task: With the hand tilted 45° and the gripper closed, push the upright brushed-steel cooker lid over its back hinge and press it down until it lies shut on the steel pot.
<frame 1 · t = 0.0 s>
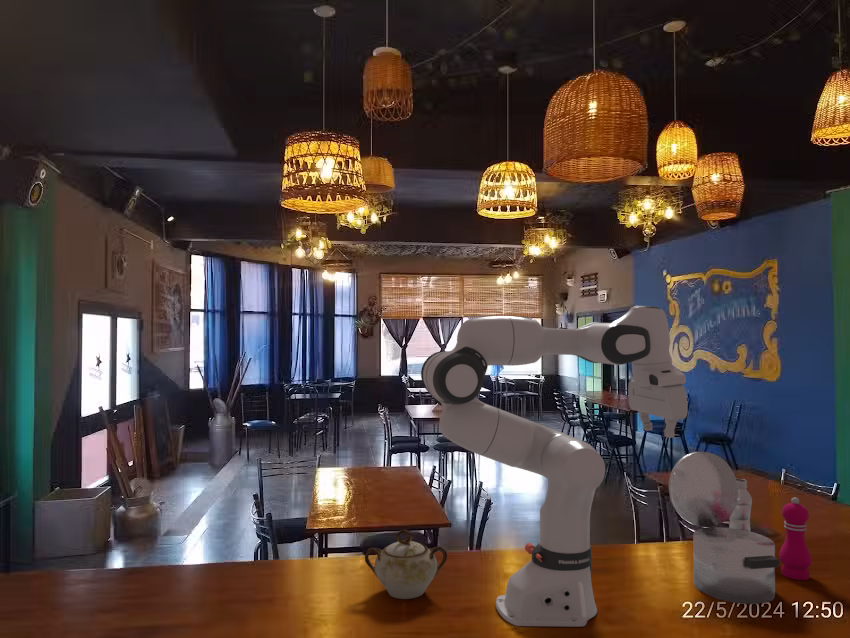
hand: (658, 433, 152), 39 cm above the counter, tool pointing down, fingers open, 8 cm apart
sugar bowl: (405, 593, 156), on the counter
cooker lid: (702, 488, 172), point 21 cm above the counter, hinge at 100.0°
cooker pot: (733, 588, 159), on the counter
silver metal bottle: (739, 551, 186), on the counter
pepper mill: (795, 576, 167), on the counter
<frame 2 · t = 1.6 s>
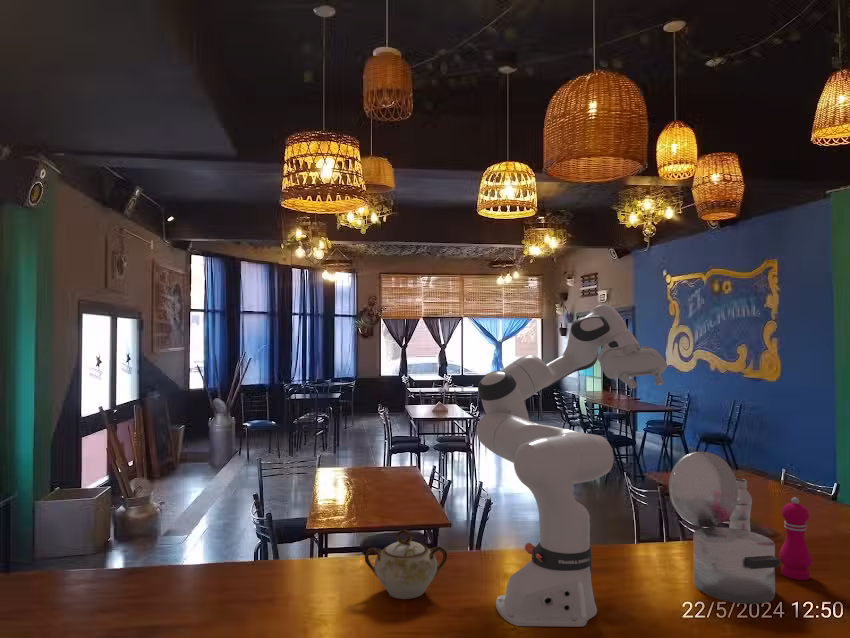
hand: (647, 385, 187), 47 cm above the counter, tool tilted 45°, fingers open, 8 cm apart
nothing on the counter moved.
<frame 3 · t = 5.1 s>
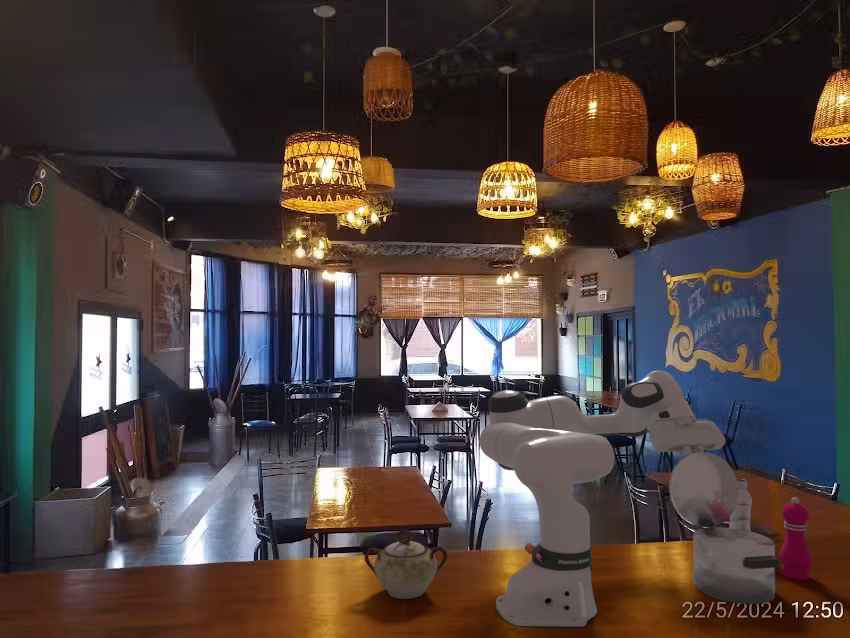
hand: (699, 462, 174), 28 cm above the counter, tool tilted 45°, fingers closed, pressing on cooker lid
cooker lid: (702, 488, 172), point 21 cm above the counter, hinge at 98.8°, touching gripper
everything else where it was.
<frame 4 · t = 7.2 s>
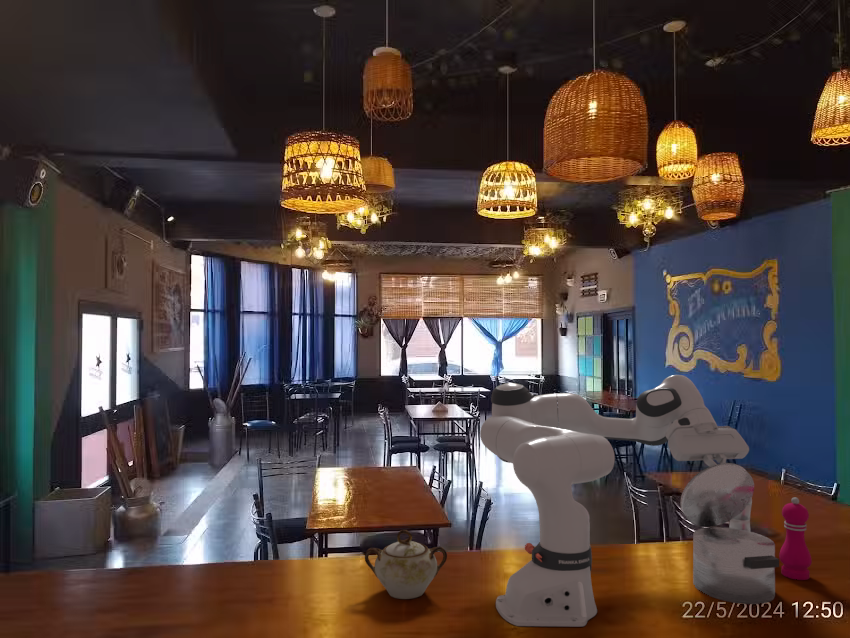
hand: (721, 472, 164), 27 cm above the counter, tool tilted 45°, fingers closed, pressing on cooker lid
cooker lid: (715, 493, 166), point 21 cm above the counter, hinge at 64.8°, touching gripper
everything else where it was.
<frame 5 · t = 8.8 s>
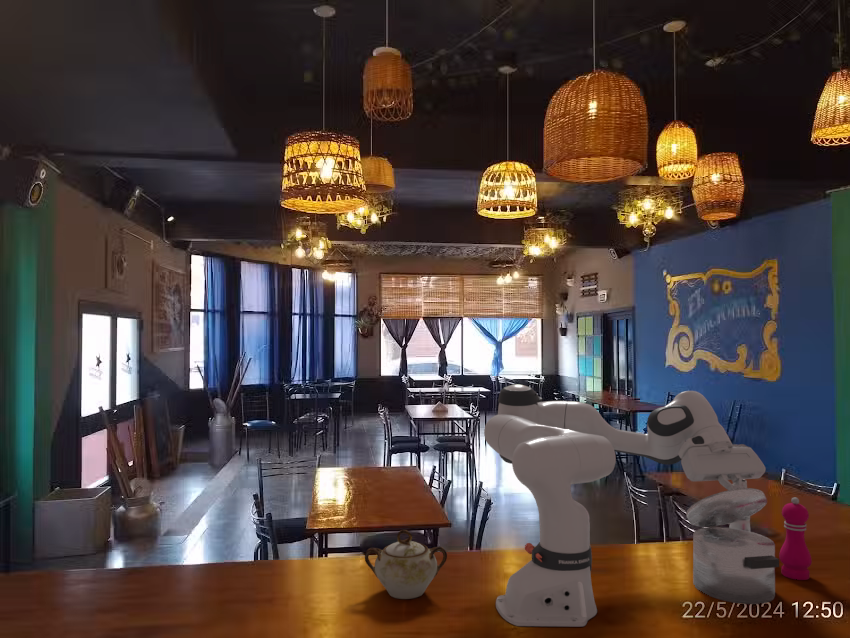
hand: (737, 493, 158), 23 cm above the counter, tool tilted 45°, fingers closed, pressing on cooker lid
cooker lid: (725, 505, 162), point 19 cm above the counter, hinge at 39.7°, touching gripper
everything else where it was.
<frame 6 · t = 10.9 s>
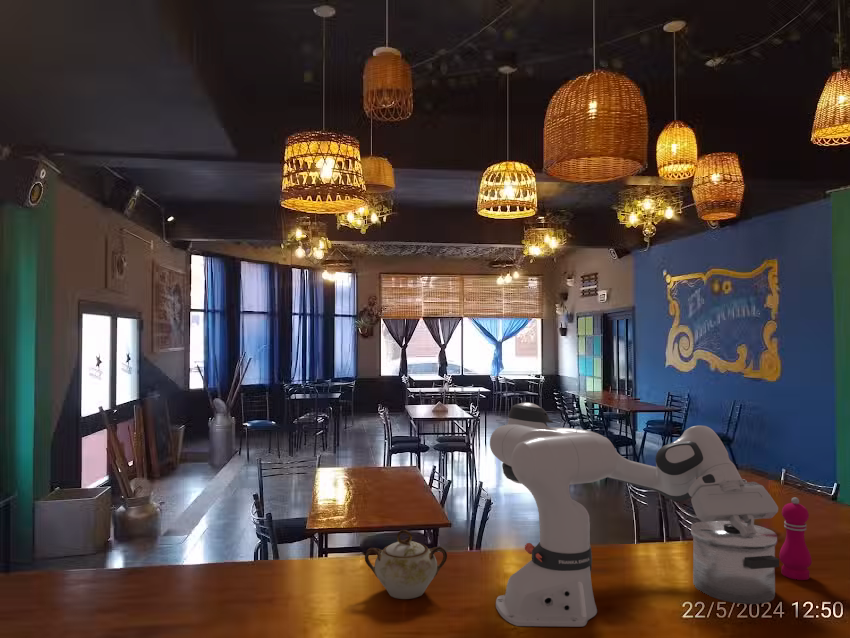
hand: (749, 535, 154), 15 cm above the counter, tool tilted 45°, fingers closed
cooker lid: (732, 531, 159), point 14 cm above the counter, hinge at 2.1°
everything else where it was.
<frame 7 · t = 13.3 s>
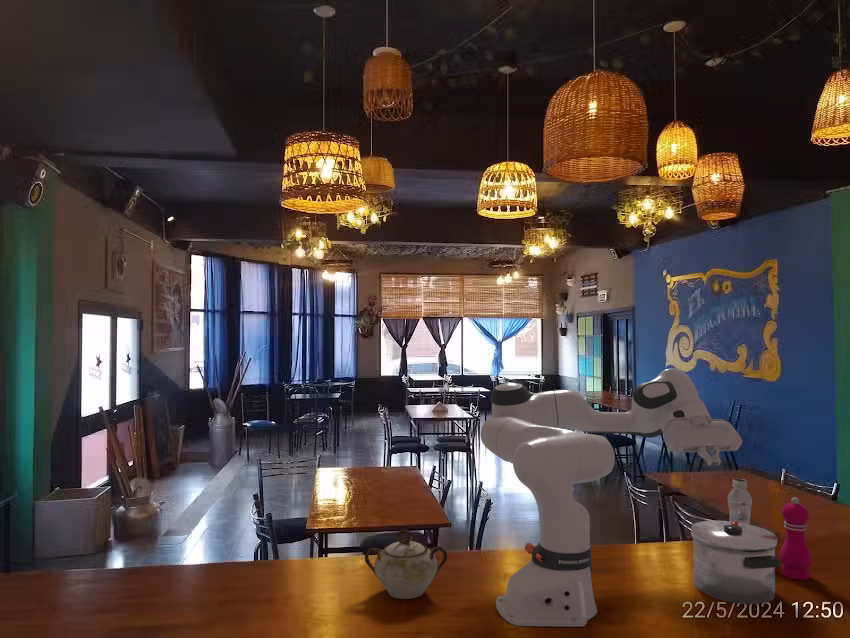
hand: (714, 463, 167), 29 cm above the counter, tool tilted 45°, fingers closed
cooker lid: (733, 533, 159), point 13 cm above the counter, hinge at -0.1°
everything else where it was.
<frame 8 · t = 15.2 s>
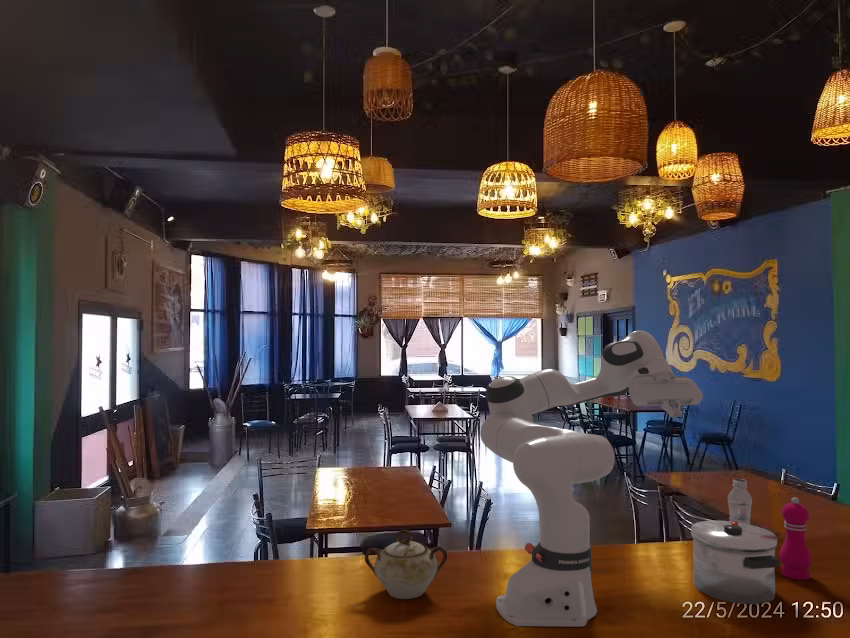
hand: (676, 415, 179), 39 cm above the counter, tool tilted 45°, fingers closed
nothing on the counter moved.
at the end: cooker lid at +0° (first picture: +100°); pepper mill moved 0.2 cm from its start; silver metal bottle moved 0.2 cm from its start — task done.
